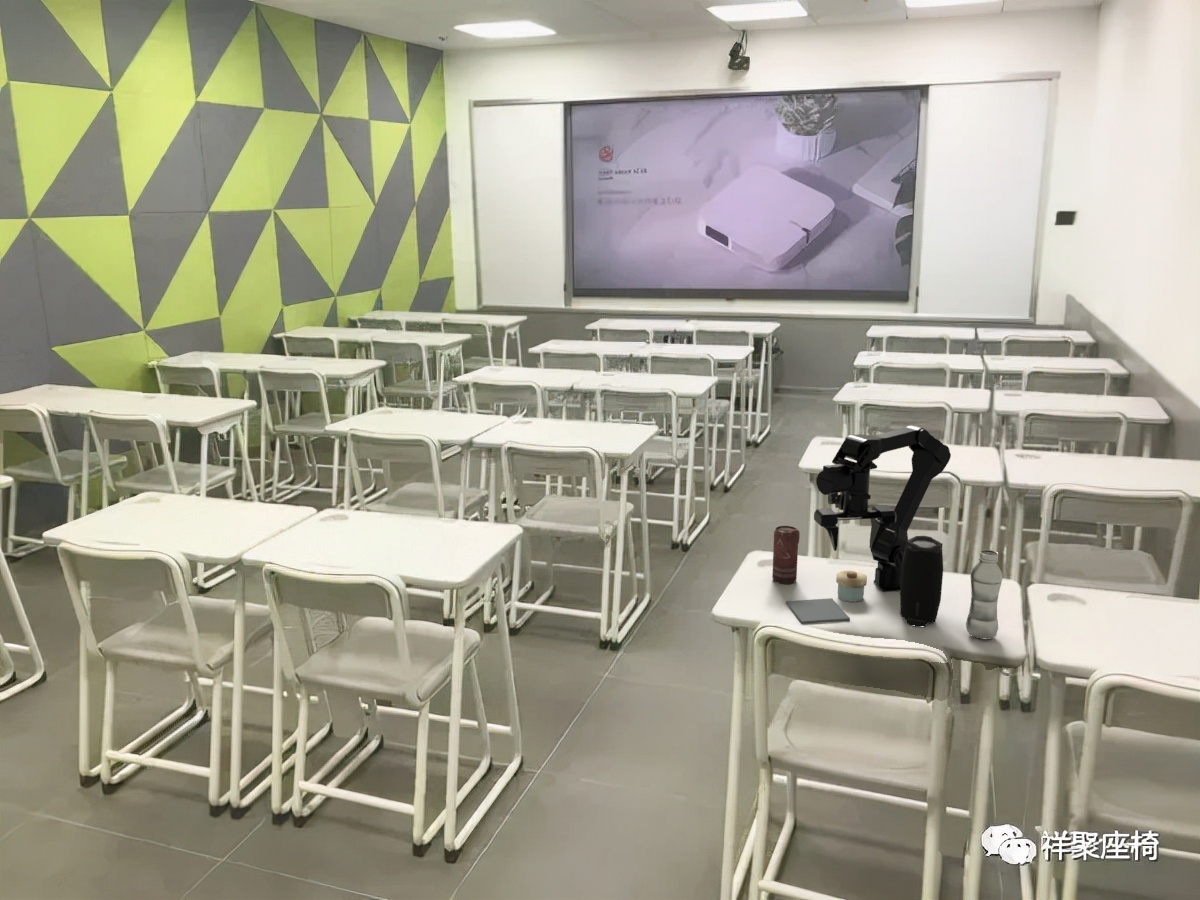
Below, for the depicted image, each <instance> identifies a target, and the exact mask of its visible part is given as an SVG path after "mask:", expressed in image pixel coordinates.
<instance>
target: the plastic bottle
mask: <svg viewBox="0 0 1200 900" xmlns="http://www.w3.org/2000/svg"><path fill="white" fill-rule="evenodd" d="M978 561H979V562H977V563H976V564H975V565H974V566H973V567H972V569H971V571H970V586H971V587H970V588H971V590H970V591H971V594H970V596H971V597H970V606H969V611H968V615H967V618H966V622H965V629H966V632H967V633H968V635H969V636H971V635H972V636H974V637H973V638H975V637H978V638H987V639H986V640H989V639H988V638H992V639H994V638H995V637H996V636H997V634H998V631H999V621H998V602H999V600H998V599H999V596H1000V590H1001V587H1002V583H1003V577H1004V576H1003V573H1002V571H1001V569H1000V567H999V565H998V564H997V563H998V561H999V553H998V552H997V551H995V550H992V549H982V550H980V551H979V555H978ZM972 636H971V637H972ZM993 637H994V638H993ZM978 638H977V639H978Z"/></svg>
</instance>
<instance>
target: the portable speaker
mask: <svg viewBox="0 0 1200 900" xmlns="http://www.w3.org/2000/svg"><path fill="white" fill-rule="evenodd" d="M943 576H944V558H943V542H940V541H938V540H936V539H935V538H933V537H932V536H927V535H915V536H913V537H912V538H908V540H907V543H906V547H905V552H904V556H903V561H902V570H901V584H900V591H899V606H900V607H899V610H900V612H899V613H900V616H901V617H902V618H903V619H904V620H905V622H906V624H907V625H909V626H910V625H915V626H914V627H916V626H925V627H926V626H927V625H928V624H930V623H933V622H935V623H936V622H937V621H936V620H937V616H938V613H939V608H940V604H941V598H942V587H943Z"/></svg>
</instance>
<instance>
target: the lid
mask: <svg viewBox="0 0 1200 900" xmlns="http://www.w3.org/2000/svg"><path fill="white" fill-rule="evenodd" d="M867 582H868V575H866V574H865V573H863V572H860V571H855V570H842V571H838V572H837V573H836V584H837V585H838V584H839V585H841V586H844V587H849V588H861V587H864V588H865V586H867V584H868V583H867Z"/></svg>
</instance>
